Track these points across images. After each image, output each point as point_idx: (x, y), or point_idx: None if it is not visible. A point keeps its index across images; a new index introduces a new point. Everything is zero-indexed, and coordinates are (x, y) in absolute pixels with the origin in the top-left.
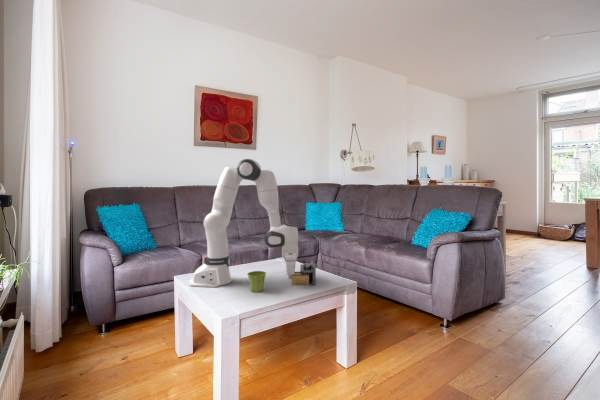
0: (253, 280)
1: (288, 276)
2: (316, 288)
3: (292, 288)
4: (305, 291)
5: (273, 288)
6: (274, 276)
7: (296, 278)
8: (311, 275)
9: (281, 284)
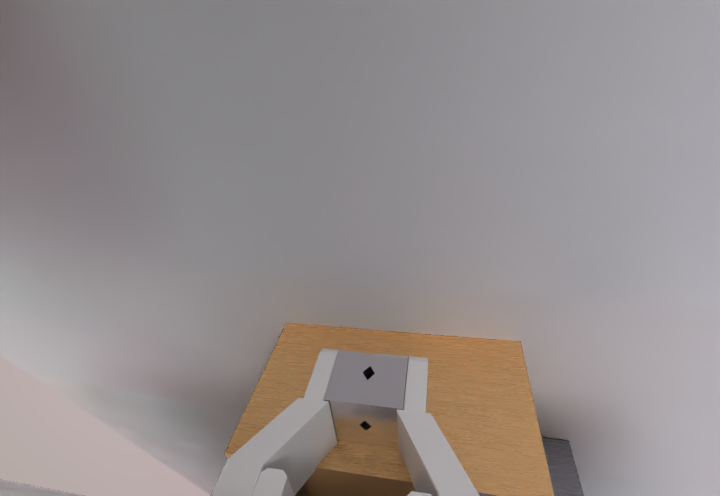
0: None
1: (379, 380)
2: (221, 468)
3: (149, 312)
4: (117, 397)
5: (15, 24)
6: None
7: None
8: None
9: (277, 180)
